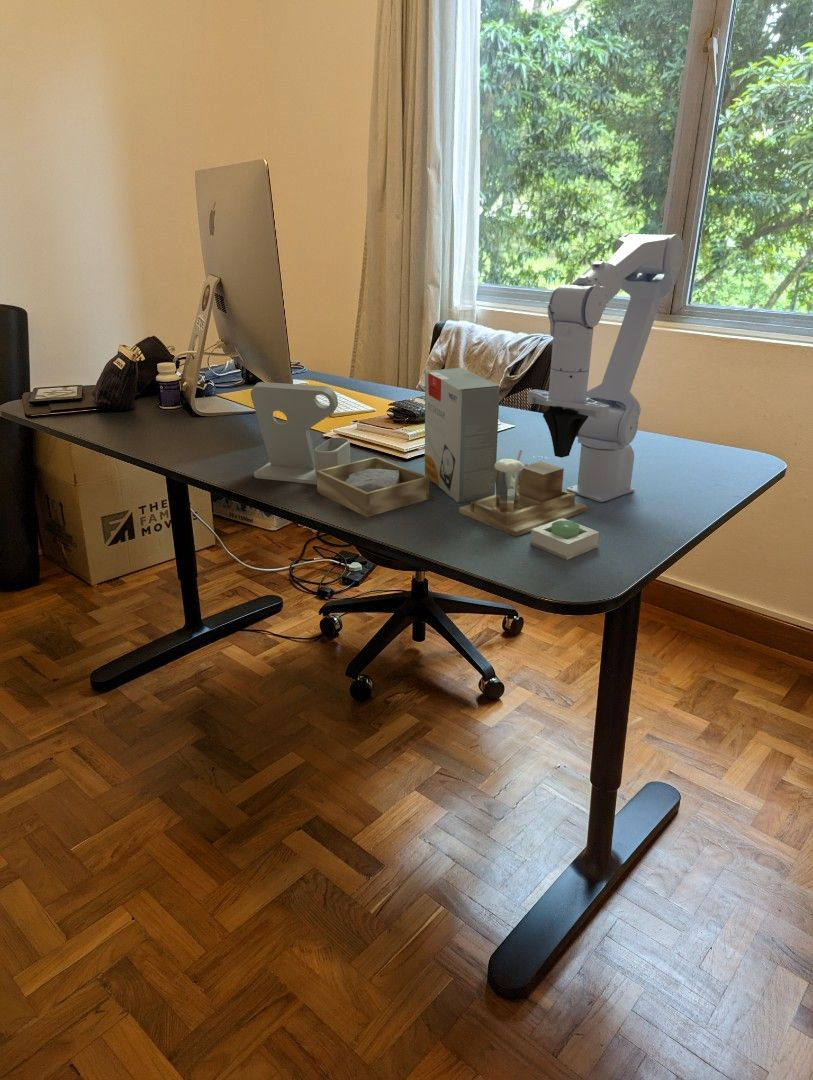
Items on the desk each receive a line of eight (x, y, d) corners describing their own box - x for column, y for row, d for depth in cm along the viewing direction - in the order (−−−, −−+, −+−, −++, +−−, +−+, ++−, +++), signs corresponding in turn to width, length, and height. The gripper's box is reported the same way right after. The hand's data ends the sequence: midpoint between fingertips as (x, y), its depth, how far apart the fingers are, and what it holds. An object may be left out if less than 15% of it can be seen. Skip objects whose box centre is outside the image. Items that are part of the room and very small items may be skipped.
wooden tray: (376, 477, 141) (376, 456, 139) (428, 499, 130) (429, 477, 128) (317, 492, 133) (316, 470, 131) (367, 517, 122) (366, 494, 121)
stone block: (344, 517, 126) (401, 505, 125) (336, 491, 125) (394, 478, 124) (351, 497, 138) (404, 486, 136) (345, 472, 136) (398, 461, 135)
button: (562, 533, 114) (564, 518, 113) (583, 542, 111) (585, 526, 110) (545, 540, 111) (546, 525, 110) (565, 549, 108) (567, 533, 107)
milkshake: (529, 511, 122) (533, 453, 118) (509, 520, 118) (512, 460, 114) (506, 504, 125) (510, 447, 121) (486, 513, 121) (489, 454, 117)
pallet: (529, 490, 134) (530, 477, 133) (586, 510, 124) (588, 497, 123) (458, 512, 124) (459, 498, 123) (515, 536, 115) (516, 522, 114)
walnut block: (538, 494, 129) (541, 461, 127) (560, 502, 126) (563, 468, 123) (518, 500, 126) (520, 467, 124) (540, 509, 123) (543, 474, 120)
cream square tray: (561, 532, 116) (562, 518, 115) (597, 547, 111) (599, 531, 110) (530, 544, 112) (531, 529, 111) (566, 560, 107) (568, 544, 106)
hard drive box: (423, 476, 141) (423, 370, 133) (459, 471, 143) (462, 367, 135) (456, 503, 128) (459, 387, 120) (496, 497, 130) (502, 384, 122)
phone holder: (356, 470, 145) (353, 377, 137) (336, 487, 136) (331, 388, 128) (275, 462, 149) (268, 371, 142) (250, 477, 141) (241, 382, 133)
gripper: (516, 364, 115) (510, 449, 121) (591, 379, 105) (581, 471, 110) (547, 360, 119) (540, 442, 125) (622, 373, 109) (611, 463, 114)
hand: (561, 455), depth 118 cm, fingers closed
